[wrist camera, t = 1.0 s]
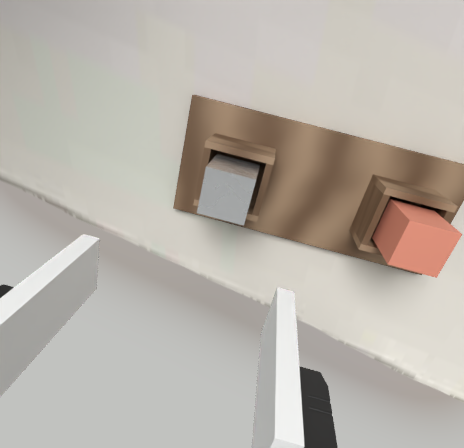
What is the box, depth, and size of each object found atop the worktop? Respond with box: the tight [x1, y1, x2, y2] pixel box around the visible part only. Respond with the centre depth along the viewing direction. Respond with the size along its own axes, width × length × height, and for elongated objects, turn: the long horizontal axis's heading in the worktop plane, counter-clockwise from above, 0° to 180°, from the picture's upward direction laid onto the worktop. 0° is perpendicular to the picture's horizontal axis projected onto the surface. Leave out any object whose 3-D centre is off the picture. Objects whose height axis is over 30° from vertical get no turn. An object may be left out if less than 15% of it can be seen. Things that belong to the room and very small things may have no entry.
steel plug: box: [197, 154, 260, 226], centre depth 28 cm, size 4×4×5 cm
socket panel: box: [173, 95, 464, 275], centre depth 32 cm, size 28×12×6 cm, turn 77°
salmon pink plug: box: [372, 199, 462, 278], centre depth 28 cm, size 4×4×5 cm
